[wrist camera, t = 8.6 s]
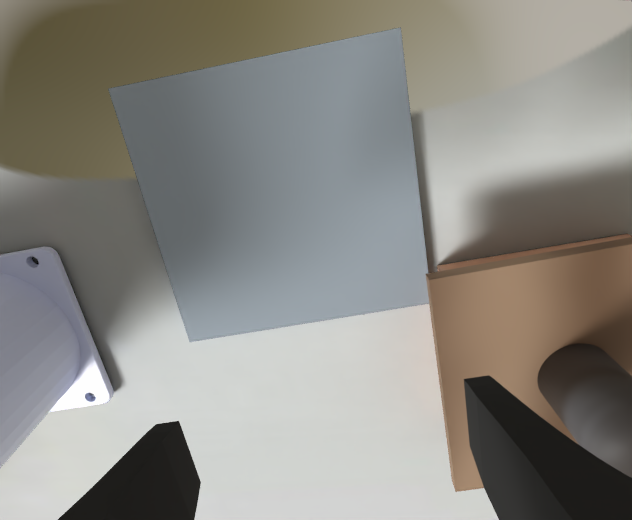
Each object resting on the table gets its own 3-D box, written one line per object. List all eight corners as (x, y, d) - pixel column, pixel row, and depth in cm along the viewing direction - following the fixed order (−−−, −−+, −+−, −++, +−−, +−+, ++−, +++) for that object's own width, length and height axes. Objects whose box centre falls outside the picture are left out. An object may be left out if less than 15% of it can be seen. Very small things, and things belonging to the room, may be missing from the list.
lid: (452, 480, 20) (487, 587, 16) (425, 273, 17) (461, 336, 12) (689, 447, 19) (796, 549, 15) (711, 222, 16) (857, 271, 12)
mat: (192, 336, 21) (189, 342, 21) (113, 88, 17) (107, 88, 17) (429, 298, 20) (431, 303, 20) (398, 29, 17) (400, 27, 16)
